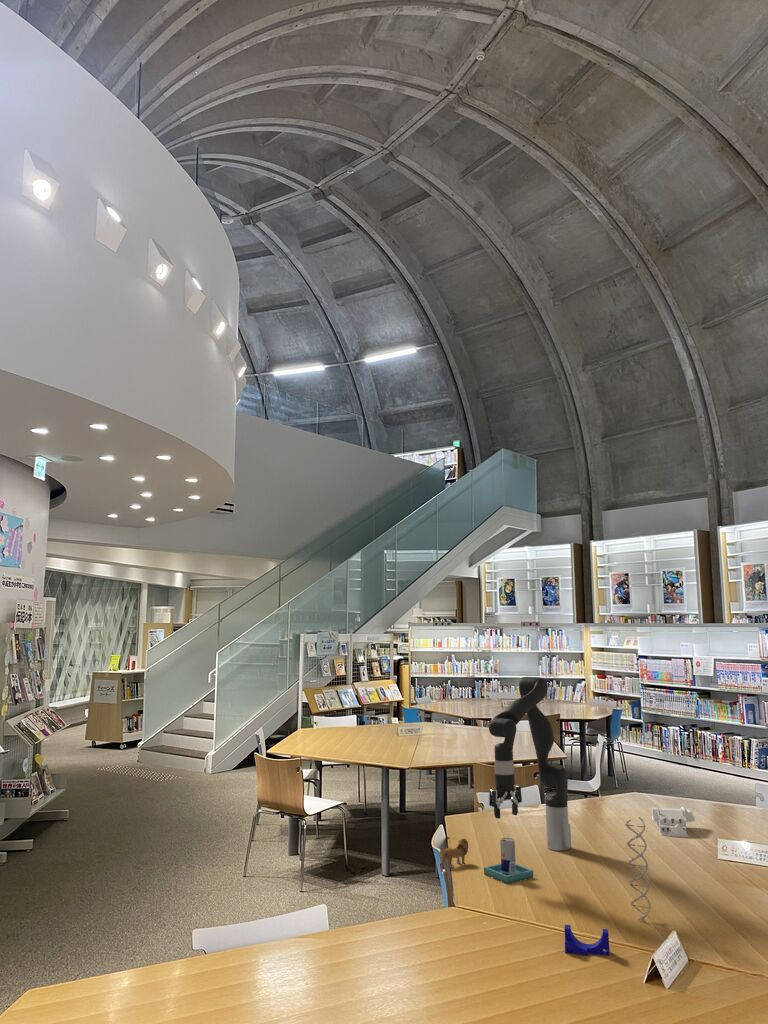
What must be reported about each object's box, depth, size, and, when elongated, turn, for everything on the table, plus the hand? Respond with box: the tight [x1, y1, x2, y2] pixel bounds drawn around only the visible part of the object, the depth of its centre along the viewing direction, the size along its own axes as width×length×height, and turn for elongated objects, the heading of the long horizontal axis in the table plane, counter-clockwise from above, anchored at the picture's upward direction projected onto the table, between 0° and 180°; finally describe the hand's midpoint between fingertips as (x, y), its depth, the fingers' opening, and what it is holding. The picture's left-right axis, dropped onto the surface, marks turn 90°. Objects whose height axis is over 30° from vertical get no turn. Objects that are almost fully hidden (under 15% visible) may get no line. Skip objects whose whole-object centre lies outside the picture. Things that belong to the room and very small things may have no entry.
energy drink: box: [499, 837, 517, 875], centre depth 267 cm, size 5×5×12 cm
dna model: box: [624, 816, 652, 921], centre depth 227 cm, size 7×6×30 cm
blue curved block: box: [563, 924, 610, 957], centre depth 201 cm, size 12×4×6 cm, turn 73°
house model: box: [650, 806, 696, 838], centre depth 327 cm, size 19×20×10 cm
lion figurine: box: [440, 837, 469, 869], centre depth 280 cm, size 15×5×9 cm, turn 132°
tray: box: [483, 863, 534, 885], centre depth 265 cm, size 13×13×2 cm
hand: (506, 816), depth 269 cm, fingers open, 8 cm apart
